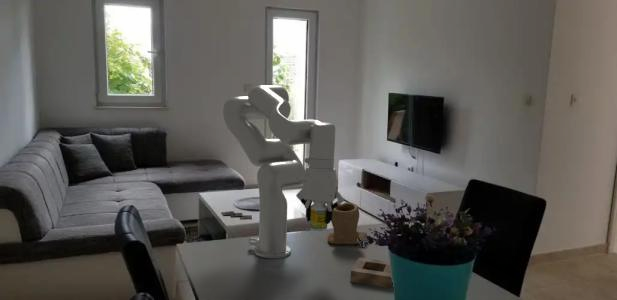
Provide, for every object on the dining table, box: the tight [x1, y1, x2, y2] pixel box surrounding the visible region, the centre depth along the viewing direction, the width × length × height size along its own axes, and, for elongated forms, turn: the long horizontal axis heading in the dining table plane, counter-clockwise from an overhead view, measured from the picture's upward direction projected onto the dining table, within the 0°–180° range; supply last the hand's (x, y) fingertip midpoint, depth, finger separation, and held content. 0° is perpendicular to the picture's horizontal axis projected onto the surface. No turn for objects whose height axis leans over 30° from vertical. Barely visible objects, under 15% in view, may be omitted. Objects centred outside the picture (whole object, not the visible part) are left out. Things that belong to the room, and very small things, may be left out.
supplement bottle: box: [309, 201, 328, 232], centre depth 153 cm, size 5×5×10 cm
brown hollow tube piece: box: [327, 202, 368, 245], centre depth 184 cm, size 15×12×15 cm
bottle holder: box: [350, 257, 393, 289], centre depth 154 cm, size 12×12×4 cm
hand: (318, 220), depth 153 cm, fingers closed on supplement bottle, 5 cm apart
